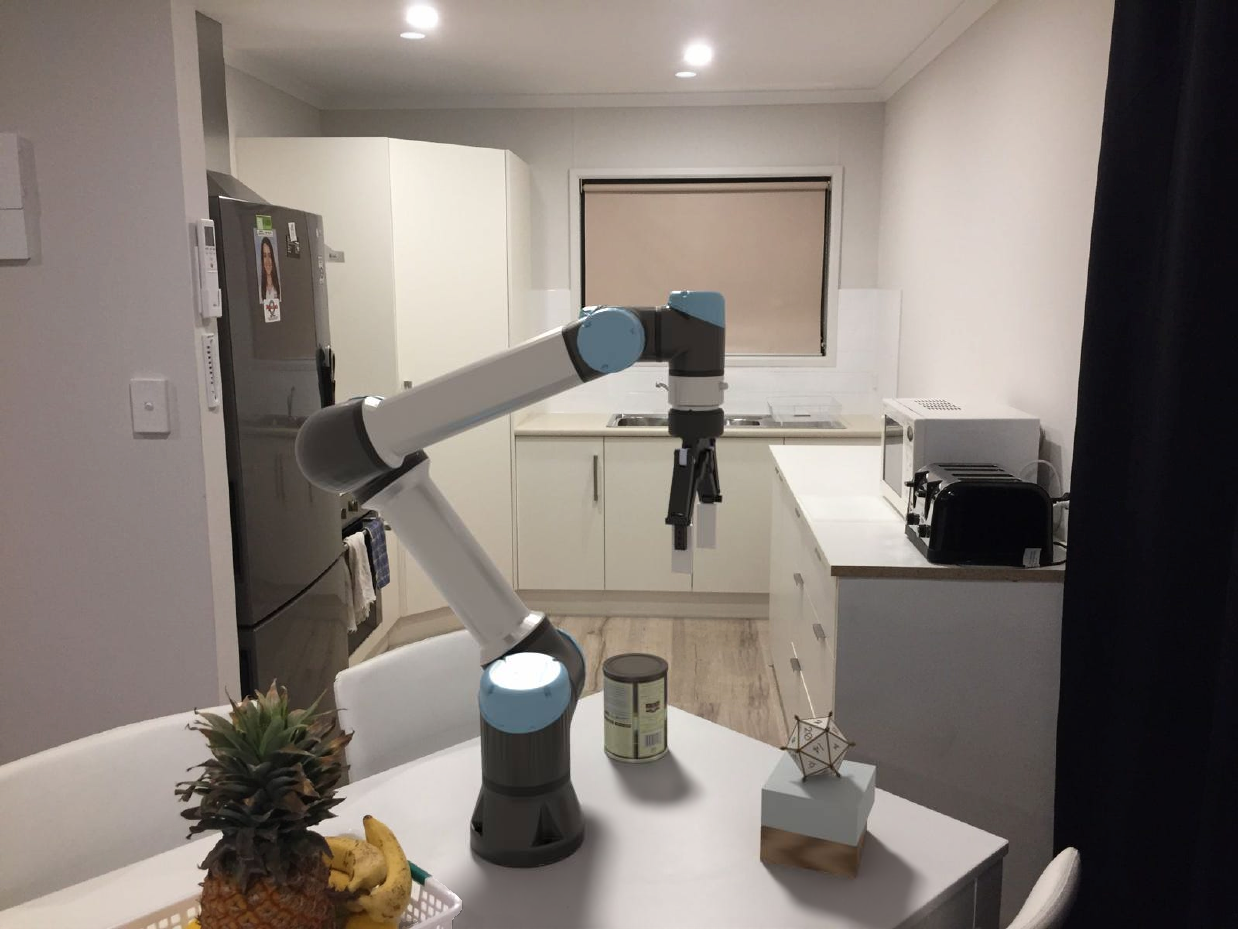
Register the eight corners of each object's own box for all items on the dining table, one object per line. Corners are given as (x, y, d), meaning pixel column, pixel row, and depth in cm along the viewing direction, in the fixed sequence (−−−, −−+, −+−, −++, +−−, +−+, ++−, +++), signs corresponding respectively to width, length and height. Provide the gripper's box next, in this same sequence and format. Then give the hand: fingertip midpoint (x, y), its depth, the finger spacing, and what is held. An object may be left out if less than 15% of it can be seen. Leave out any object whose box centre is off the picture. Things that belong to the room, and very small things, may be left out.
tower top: (760, 825, 126) (761, 788, 126) (785, 783, 137) (786, 749, 136) (856, 846, 122) (857, 808, 121) (874, 801, 132) (875, 766, 131)
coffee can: (624, 729, 165) (624, 648, 163) (679, 744, 160) (680, 660, 157) (590, 753, 156) (589, 668, 154) (646, 770, 151) (647, 681, 149)
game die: (828, 808, 128) (851, 771, 121) (766, 778, 130) (785, 740, 123) (846, 752, 134) (869, 714, 127) (787, 723, 136) (807, 684, 129)
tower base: (759, 863, 127) (760, 826, 126) (777, 817, 138) (778, 783, 137) (856, 881, 123) (857, 844, 122) (866, 832, 134) (868, 797, 133)
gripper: (701, 418, 122) (699, 587, 125) (742, 398, 145) (739, 540, 149) (642, 416, 124) (642, 581, 128) (691, 396, 147) (690, 536, 151)
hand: (694, 559), depth 138 cm, fingers open, 13 cm apart
